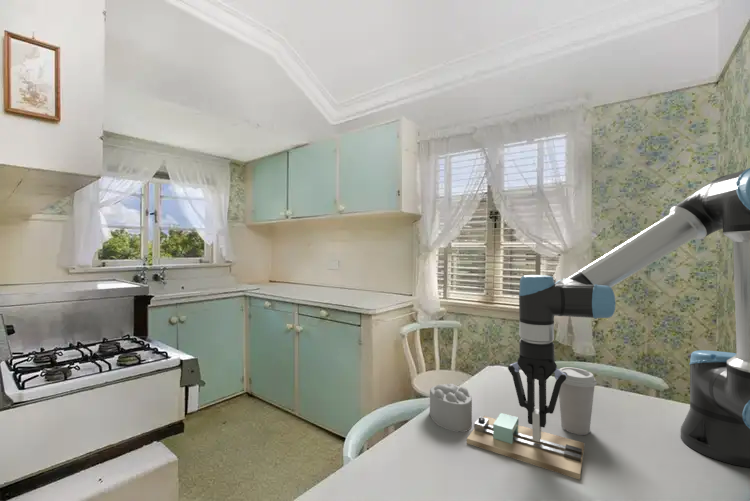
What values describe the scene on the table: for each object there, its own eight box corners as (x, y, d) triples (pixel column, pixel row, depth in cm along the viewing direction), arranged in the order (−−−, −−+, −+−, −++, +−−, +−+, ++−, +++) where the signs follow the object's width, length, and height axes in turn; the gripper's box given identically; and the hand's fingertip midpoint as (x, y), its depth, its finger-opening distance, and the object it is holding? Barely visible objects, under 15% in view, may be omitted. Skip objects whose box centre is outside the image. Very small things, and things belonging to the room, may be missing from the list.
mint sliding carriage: (518, 431, 89) (518, 417, 89) (511, 444, 83) (511, 429, 83) (500, 426, 91) (500, 412, 91) (493, 438, 85) (493, 424, 85)
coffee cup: (603, 440, 87) (603, 380, 87) (561, 435, 89) (561, 377, 89) (587, 421, 96) (588, 367, 96) (550, 418, 98) (550, 365, 98)
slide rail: (581, 452, 80) (581, 441, 80) (580, 462, 76) (580, 451, 76) (479, 423, 93) (479, 414, 93) (474, 430, 89) (474, 421, 89)
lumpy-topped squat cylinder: (458, 407, 105) (458, 378, 105) (481, 429, 92) (481, 396, 92) (425, 411, 102) (425, 381, 102) (444, 434, 90) (444, 400, 90)
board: (584, 447, 83) (584, 442, 83) (580, 479, 72) (580, 474, 72) (483, 420, 97) (483, 415, 97) (466, 443, 85) (466, 438, 85)
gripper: (569, 340, 82) (569, 439, 82) (511, 333, 90) (512, 424, 90) (565, 347, 76) (566, 455, 76) (504, 339, 84) (504, 437, 84)
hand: (537, 438), depth 83 cm, fingers closed
